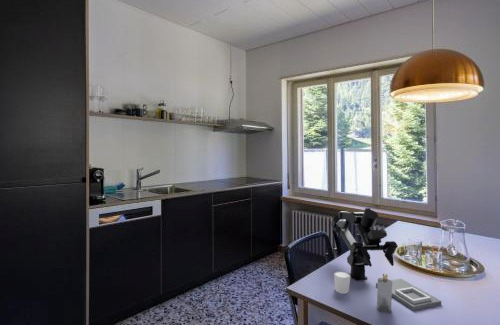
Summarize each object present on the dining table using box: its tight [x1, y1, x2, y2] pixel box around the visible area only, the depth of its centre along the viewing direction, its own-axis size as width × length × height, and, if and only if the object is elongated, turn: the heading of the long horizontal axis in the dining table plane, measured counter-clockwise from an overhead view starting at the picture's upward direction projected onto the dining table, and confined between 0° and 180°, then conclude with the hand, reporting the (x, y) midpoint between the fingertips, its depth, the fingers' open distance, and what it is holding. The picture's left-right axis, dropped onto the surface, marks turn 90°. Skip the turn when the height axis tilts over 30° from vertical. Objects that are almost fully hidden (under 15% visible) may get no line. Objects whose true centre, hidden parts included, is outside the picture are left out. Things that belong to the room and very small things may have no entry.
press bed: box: [375, 278, 442, 311], centre depth 120 cm, size 20×14×3 cm
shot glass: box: [333, 271, 352, 295], centre depth 123 cm, size 7×7×7 cm
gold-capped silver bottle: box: [376, 273, 393, 314], centre depth 109 cm, size 5×5×14 cm
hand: (382, 265), depth 115 cm, fingers open, 9 cm apart
